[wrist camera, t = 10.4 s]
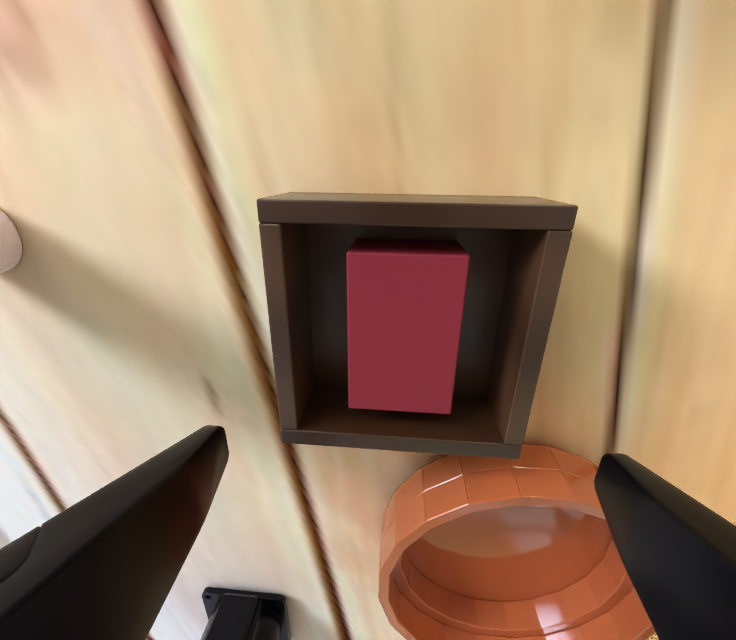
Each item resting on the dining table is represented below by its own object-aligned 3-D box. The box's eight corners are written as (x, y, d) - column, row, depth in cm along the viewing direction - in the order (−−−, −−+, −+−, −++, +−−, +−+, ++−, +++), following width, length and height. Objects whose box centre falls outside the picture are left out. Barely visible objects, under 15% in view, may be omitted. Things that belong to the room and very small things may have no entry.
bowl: (592, 613, 25) (625, 689, 22) (379, 592, 26) (375, 660, 23) (665, 447, 19) (728, 512, 16) (386, 428, 20) (382, 485, 17)
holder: (496, 404, 19) (519, 460, 15) (303, 392, 20) (281, 443, 16) (535, 196, 15) (579, 205, 11) (289, 192, 16) (255, 198, 12)
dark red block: (443, 378, 18) (450, 415, 15) (355, 373, 18) (348, 408, 16) (458, 240, 15) (470, 255, 13) (355, 237, 16) (345, 252, 13)
